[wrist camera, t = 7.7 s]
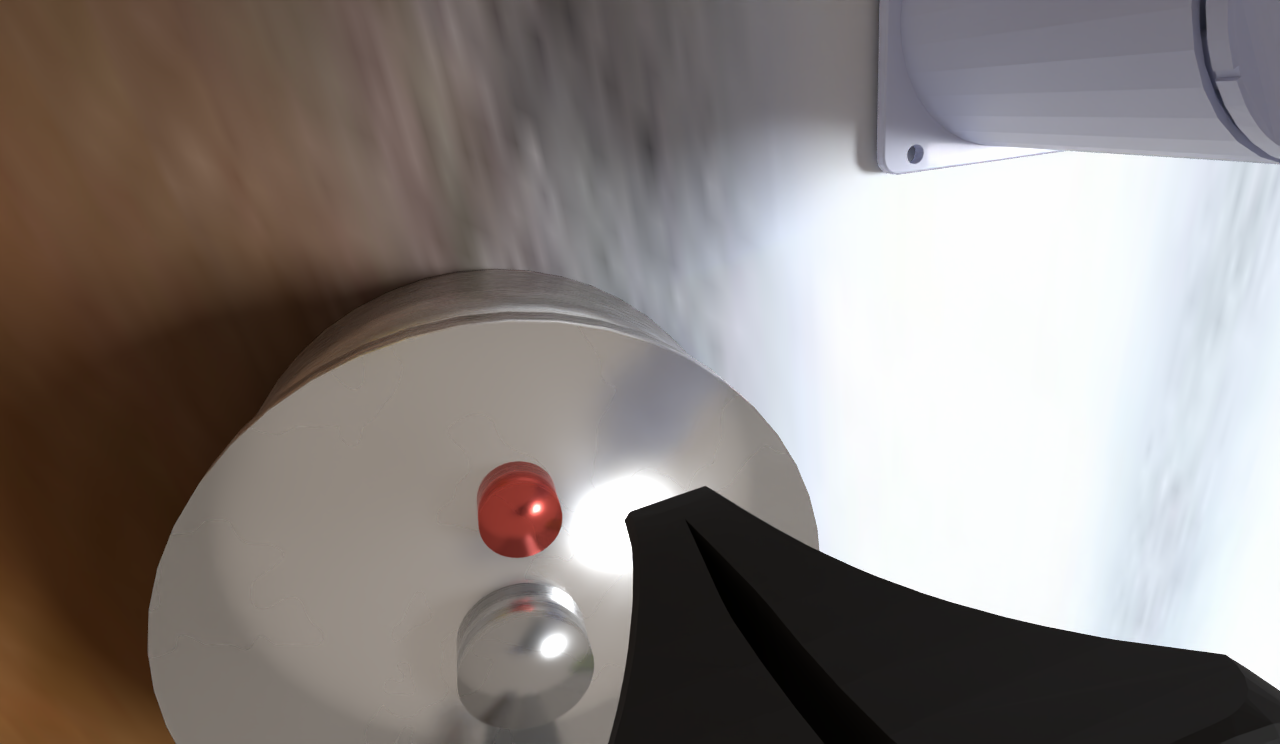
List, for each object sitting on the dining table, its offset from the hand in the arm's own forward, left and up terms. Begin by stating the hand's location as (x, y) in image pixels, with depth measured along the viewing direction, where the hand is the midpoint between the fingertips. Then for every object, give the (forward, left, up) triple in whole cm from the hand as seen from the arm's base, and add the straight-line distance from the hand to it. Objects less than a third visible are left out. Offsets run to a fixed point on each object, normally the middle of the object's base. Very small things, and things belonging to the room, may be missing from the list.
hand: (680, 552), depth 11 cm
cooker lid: (+3, +7, -5) cm, 9 cm away
